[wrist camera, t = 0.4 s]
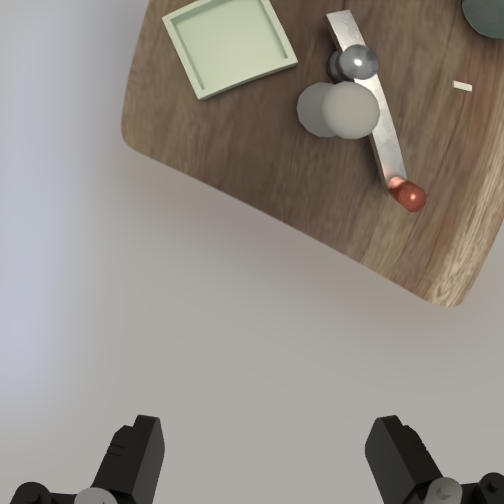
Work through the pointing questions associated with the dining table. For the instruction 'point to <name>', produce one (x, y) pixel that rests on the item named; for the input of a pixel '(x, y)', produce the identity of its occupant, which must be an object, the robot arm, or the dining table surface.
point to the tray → (228, 43)
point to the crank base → (334, 69)
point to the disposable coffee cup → (485, 16)
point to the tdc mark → (461, 86)
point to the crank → (383, 136)
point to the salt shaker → (338, 110)
